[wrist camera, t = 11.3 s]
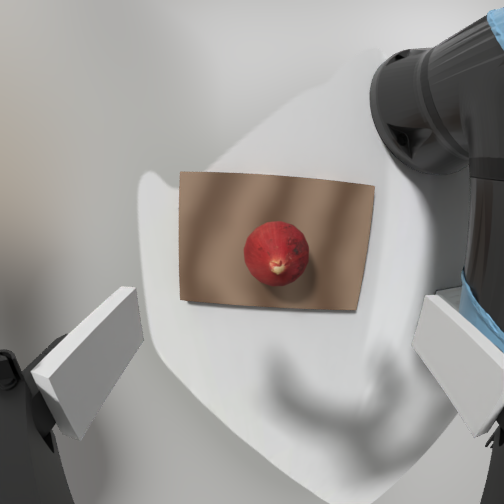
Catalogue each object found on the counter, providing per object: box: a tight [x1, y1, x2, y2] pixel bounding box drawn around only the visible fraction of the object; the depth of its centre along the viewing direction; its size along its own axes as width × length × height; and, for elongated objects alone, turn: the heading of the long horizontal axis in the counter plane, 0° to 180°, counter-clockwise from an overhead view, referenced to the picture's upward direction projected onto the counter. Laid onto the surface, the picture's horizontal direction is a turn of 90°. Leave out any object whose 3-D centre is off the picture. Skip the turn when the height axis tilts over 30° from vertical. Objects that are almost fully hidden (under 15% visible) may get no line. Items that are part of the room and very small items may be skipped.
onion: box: [243, 221, 309, 286], centre depth 26 cm, size 6×6×8 cm
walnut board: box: [179, 172, 375, 310], centre depth 30 cm, size 20×14×2 cm
